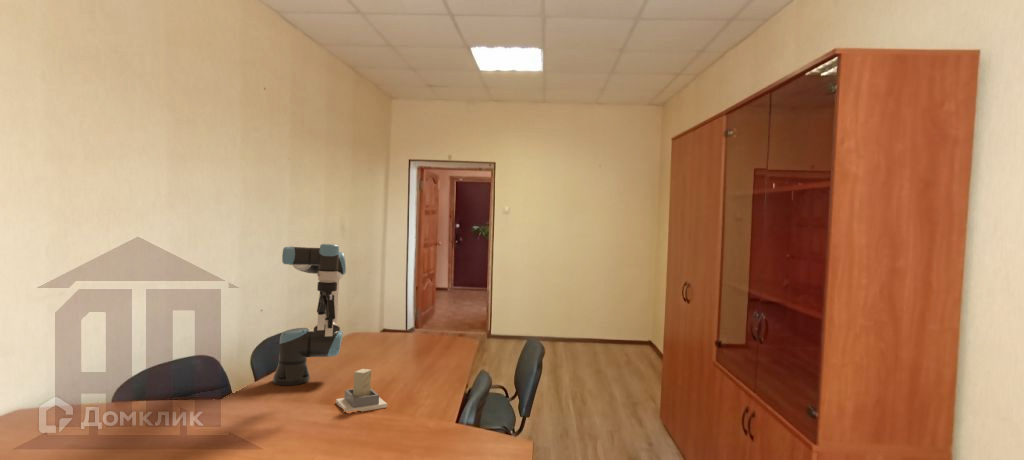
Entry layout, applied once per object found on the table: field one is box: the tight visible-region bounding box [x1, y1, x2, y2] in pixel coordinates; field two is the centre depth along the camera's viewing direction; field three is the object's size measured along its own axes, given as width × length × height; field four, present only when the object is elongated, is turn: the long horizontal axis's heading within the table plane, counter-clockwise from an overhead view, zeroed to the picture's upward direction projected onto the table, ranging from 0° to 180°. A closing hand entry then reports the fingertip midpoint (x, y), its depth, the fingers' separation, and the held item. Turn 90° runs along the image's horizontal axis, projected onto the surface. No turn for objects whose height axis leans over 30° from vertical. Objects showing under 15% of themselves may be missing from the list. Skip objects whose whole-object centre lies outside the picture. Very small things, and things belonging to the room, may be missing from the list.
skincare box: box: [352, 368, 372, 398], centre depth 192 cm, size 6×4×12 cm
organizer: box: [335, 387, 388, 412], centre depth 192 cm, size 14×16×5 cm
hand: (324, 333), depth 198 cm, fingers open, 13 cm apart
